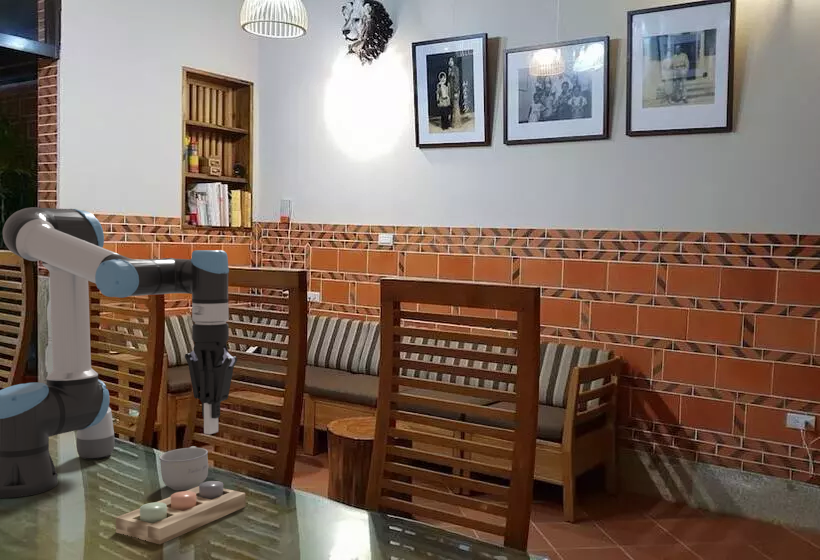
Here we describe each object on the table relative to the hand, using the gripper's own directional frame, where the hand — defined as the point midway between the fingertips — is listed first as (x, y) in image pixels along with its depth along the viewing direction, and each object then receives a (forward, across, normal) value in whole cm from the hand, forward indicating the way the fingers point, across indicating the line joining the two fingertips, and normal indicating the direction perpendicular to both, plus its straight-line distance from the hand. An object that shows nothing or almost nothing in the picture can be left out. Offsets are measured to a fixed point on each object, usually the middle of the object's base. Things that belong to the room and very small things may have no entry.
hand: (211, 432), depth 164 cm
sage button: (+14, 0, -16) cm, 21 cm away
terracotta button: (+14, 0, -8) cm, 16 cm away
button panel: (+16, 0, -8) cm, 18 cm away
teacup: (+17, -16, +9) cm, 25 cm away
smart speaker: (+16, -54, +14) cm, 58 cm away
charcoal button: (+14, 0, 0) cm, 14 cm away
